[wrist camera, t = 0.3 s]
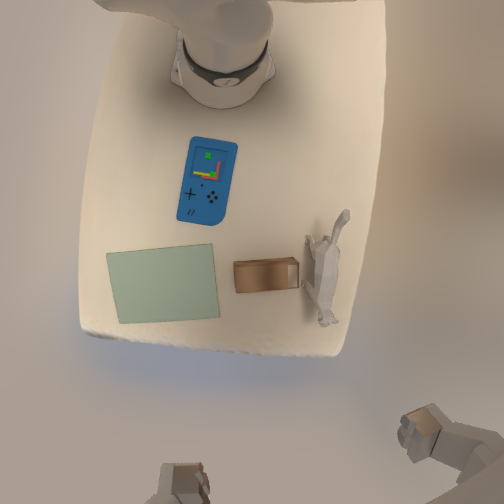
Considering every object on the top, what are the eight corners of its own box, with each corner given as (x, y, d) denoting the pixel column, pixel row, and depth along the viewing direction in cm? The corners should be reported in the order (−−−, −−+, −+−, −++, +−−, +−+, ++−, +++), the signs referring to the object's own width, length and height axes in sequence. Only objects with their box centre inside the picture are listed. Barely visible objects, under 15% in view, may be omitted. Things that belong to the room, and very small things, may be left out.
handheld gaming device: (175, 220, 52) (191, 135, 49) (176, 219, 53) (191, 136, 50) (222, 228, 53) (238, 143, 50) (222, 227, 54) (238, 144, 51)
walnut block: (234, 285, 56) (236, 293, 52) (233, 261, 55) (234, 268, 51) (293, 280, 57) (299, 287, 53) (292, 257, 56) (299, 263, 52)
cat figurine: (297, 307, 58) (320, 340, 45) (306, 202, 54) (335, 208, 41) (319, 306, 59) (346, 338, 45) (329, 204, 55) (363, 210, 41)
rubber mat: (106, 253, 52) (105, 254, 52) (211, 243, 54) (211, 244, 53) (120, 322, 55) (119, 323, 55) (219, 316, 57) (219, 317, 56)
